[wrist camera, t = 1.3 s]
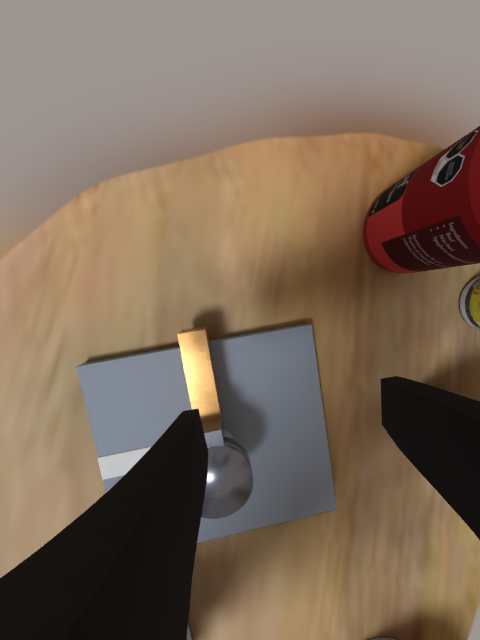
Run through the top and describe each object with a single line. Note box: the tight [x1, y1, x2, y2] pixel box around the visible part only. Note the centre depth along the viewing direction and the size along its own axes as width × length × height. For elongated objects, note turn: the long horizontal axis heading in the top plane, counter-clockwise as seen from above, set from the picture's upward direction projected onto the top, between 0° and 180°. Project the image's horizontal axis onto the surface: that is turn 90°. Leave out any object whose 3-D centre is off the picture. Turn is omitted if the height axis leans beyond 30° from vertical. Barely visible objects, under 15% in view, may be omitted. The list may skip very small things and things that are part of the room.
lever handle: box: [177, 326, 253, 519], centre depth 17 cm, size 13×5×4 cm, turn 9°
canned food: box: [364, 126, 480, 273], centre depth 16 cm, size 8×8×11 cm
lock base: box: [76, 323, 337, 543], centre depth 19 cm, size 18×20×4 cm
